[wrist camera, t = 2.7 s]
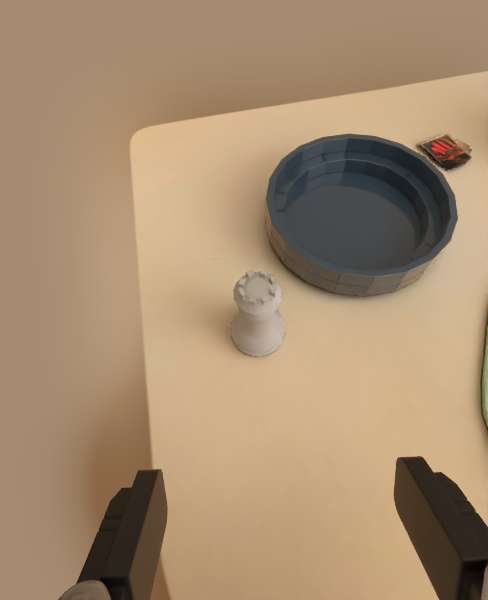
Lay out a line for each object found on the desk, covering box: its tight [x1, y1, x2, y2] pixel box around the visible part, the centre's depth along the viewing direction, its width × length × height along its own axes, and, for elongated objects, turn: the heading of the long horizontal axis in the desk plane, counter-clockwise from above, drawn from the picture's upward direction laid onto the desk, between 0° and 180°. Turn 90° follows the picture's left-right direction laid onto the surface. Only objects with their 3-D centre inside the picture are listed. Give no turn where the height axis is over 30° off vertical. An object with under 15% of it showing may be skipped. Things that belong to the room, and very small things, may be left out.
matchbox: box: [416, 133, 472, 169], centre depth 39 cm, size 5×5×1 cm
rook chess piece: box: [231, 269, 285, 356], centre depth 27 cm, size 4×4×8 cm
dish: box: [265, 134, 458, 296], centre depth 34 cm, size 16×16×4 cm
